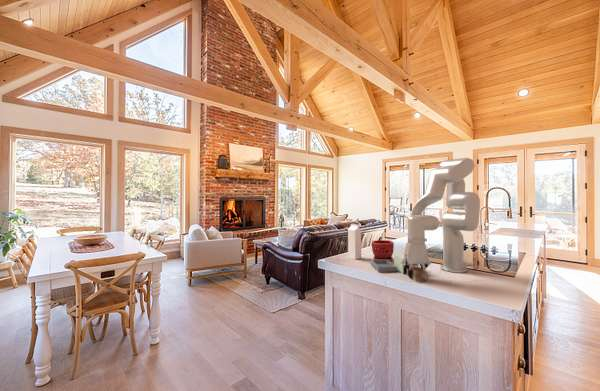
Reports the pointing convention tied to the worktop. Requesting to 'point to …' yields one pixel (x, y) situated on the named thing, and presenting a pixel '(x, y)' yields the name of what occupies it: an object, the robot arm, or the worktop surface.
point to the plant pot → (382, 249)
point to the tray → (383, 266)
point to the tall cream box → (398, 260)
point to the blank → (418, 273)
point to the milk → (354, 242)
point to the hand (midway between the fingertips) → (416, 277)
